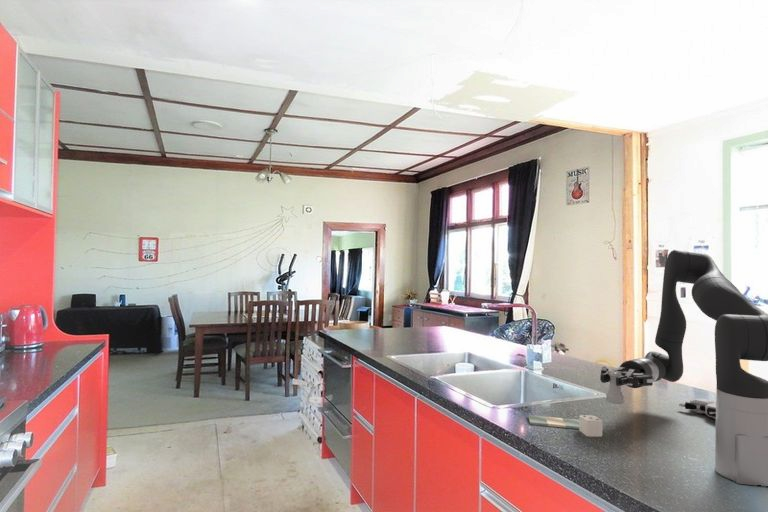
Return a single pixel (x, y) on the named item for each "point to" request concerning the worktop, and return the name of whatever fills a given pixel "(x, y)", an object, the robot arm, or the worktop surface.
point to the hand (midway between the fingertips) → (610, 380)
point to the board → (554, 422)
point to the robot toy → (701, 407)
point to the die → (590, 425)
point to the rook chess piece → (614, 389)
